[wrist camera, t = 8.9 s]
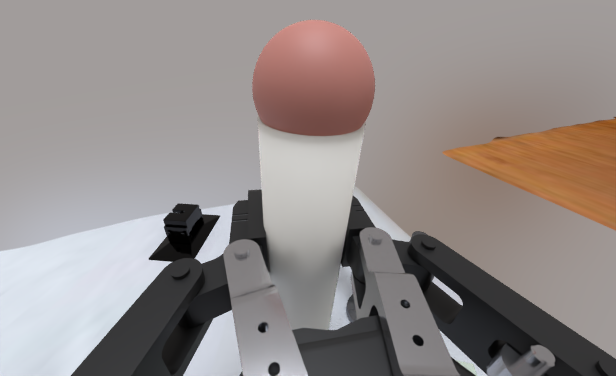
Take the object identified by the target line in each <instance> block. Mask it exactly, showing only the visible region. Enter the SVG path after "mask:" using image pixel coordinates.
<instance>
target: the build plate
mask: <svg viewBox="0 0 616 376" xmlns="http://www.w3.org/2000/svg"><path fill="white" fill-rule="evenodd" d="M172 211H173V213H169V214H168V215H167V216H166V217H165V218H164V219H163V221H164V223H165V226H164V229H165V232H166V235H167V237H166V238H165V239H164V241H163V242H162V243H161V244H160V245H159V247H158V248H157V249H156V250H155V251H154V253H153V254H152V255H151V256H150V258H149V260H159V261H171V262H174V261H176V260H179V259H183V258H193V259H195V257H196V255H197V254H198V252H199V250H200V249H201V247H202V245H203V244H204V242H205V240H206V239H207V237H208V236H209V234H210V232H211V231H212V229H213V227H214V226H215V224H216V222H217V221H218V219H219V217H220V216H218V215H203V214H202V212H201V209H199V205H192V204H177V205H176V206H175V208H174V209H173V210H172Z"/></svg>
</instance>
